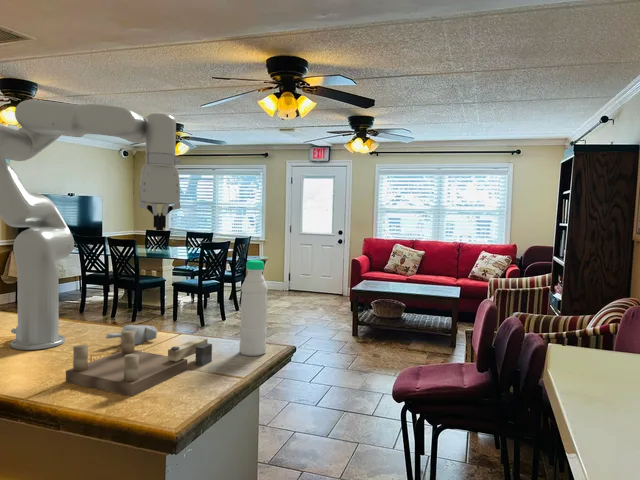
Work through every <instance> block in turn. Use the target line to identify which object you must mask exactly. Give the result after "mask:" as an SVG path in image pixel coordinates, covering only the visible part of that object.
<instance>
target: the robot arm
mask: <svg viewBox="0 0 640 480" xmlns="http://www.w3.org/2000/svg"><path fill="white" fill-rule="evenodd" d="M14 117H15V120H16V121H17V123H18V124H19V126H21V127H20V128H18V129H15V128H11V127H7V126H4V125H1V124H0V218H1V220H2V221H3V222H4V223H5V224H6V225H7V226H9V227H12V228H27V229H25V230H22V231H21V232H20V233H19V234H18V235H17V236H16V238H15V239H14V242H13V245H12V246H13V255H14V260H15V265H16V276H17V282H16V283H17V325H16V327H15V328H12V329H11V330H10V332H11V334H15V338H14V339H12V340H11V342H10V347H11V348H12V349H15V350H19V351H20V350H22V351H33V350H44V349H49V348H54V347H57V346H60V345H62V344H64V343H65V341H66V337H65V336H64V335H61V334H60V333H59V329H60V328H59V327H60V326H59V318H60V317H59V313H60V310H59V309H60V307H59V306H60V305H59V302H60V300H59V297H60V294H59V292H60V291H59V289H60V286H59V283H60V282H59V280H60V279H59V272H58V268H57V265H56V262H55V261H58V260H63V259H65V258H67V257H69V256H70V255H71V254H72V253H73V251H74V247H75V240H74V237H73V233H72V232H71V230H70V228H69V227H68V224H67V223H66V221H65V220H64V218H63V216H62V214H61V213H60V211H59V209H58V207H57V206H56V205H55V203H54V202H53V200H51V199H50V198H49V197H47V196H46V195H44V194H42V193H41V194H40V193H35V192H29V190H28V189H27V188H26V187H25V185H24V184H23V182H22V180H21V178H20V177H19V174H18V173H17V172H16V171H15V170H14V169H13V167H12V166H11V165H10V164H9V163H8V162H7V160H10V161H15V162H23V161H24V162H25V161H28V160H30V159H32V158H34V157H35V156H36V155H38V154H39V153H41V152H42V151H43V150H44V149H46V148H47V147H48V146H50V145H51V144H52V143H54V142H55V141H56V140H57V139H59V138H60V137H61V136H63V137H64V136H65V137H72V138H73V137H74V138H82V137H84V136H85V135H99V136H107V137H116V138H120V139H123V140H125V141H127V142H130V143H133V144H143V143H145V165H142V167H141V171H140V180H139V192H138V193H139V202H138V208H141V209H145V210H147V211H149V212H150V213H151V214H152V215H153V224H152V225H153V228H155V231H158V232H159V231H161V232H164V228H165V229H166V227H167V225H166V219H167V218H166V217H167V215H168V214H170V213H171V211H175V210H179V209H181V207H182V206H181V186H180V185H181V183H180V174H179V168H178V167H176V165H179V164H180V165H181V163H182V159H181V158H179V157H177V155H176V144H177V143H176V140H177V120H176V118H175V116H172V115H170V114H167V113H166V114H165V113H159V112H158V113H150V114H148V115H147V116H143V115H141V114H139V113H136V112H135V111H133V110H131V109H129V108H126V107H121V106H113V105H107V104H105V105H104V104H99V103H97V104H96V103H92V104H91V103H87V104H85V103H84V104H78V103H77V104H76V103H67V102H57V101H50V100H49V101H48V100H43V99H26V100H23V101H21V102H19V103H18V104H17V105H16V106H15V110H14ZM157 205H162V209H161V213H159V211H158V206H157Z"/></svg>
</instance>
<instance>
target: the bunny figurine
mask: <svg viewBox="0 0 640 480" xmlns="http://www.w3.org/2000/svg"><path fill="white" fill-rule="evenodd" d="M124 331H134V332H135V342H134V346H137V345H139V344H140V345H141V344H143V343H145V342H146V341H151V340H156V339H157V335H158V329H157V328H156V326H153V325H146V324H139V325H136V324H127V325H124V326H122V329H121V332H120V333H119V332H118V333H116V332H113V333H108V334H107V335H106V337H105V339H115V338H120V340H121V341H122V332H124Z"/></svg>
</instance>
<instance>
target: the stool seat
mask: <svg viewBox="0 0 640 480" xmlns="http://www.w3.org/2000/svg"><path fill="white" fill-rule="evenodd" d="M121 332H122V331H121ZM134 342H135V332H134V331H124V332H122V340H121V351H118V352H115V353H113V354H112V353H111V354H110V355H108V356H104V357H102V358H101V357H100V358H99V359H95V360H92V361H89V346H88V345H87V344H79V345H74V346H73V355H72V356H73V357H72V358H73V365H72V366H73V367H72V368H69V369H67V370H65V383H70V384H73V385H79V386H82V387H85V388H86V387H87V388H91V389H96V390H101V391H105V392H110V393H114V394H119V395H123V396H129V397H134V396H135V395H138V394H140V393H142V392H144V391H146V390H147V389H150V388H152V387H155V386H156V385H159V384H160V383H163V382H164V381H168V380H169V379H171V378H173V377H176V376H178V375H180V374H182V373H184V372H186V371H188V359H186V358H183V359H181V360H178V361H171V360H168V355H164V354H159V353H153V352H152V353H151V352H146V351H142V350H135V345H134ZM212 354H213V343H208V342H207V343H204V344H202V345H199V346H197V347H196V353H195V365H196V366H205V365H207V364H208V363H210V362H212V361H213V355H212Z"/></svg>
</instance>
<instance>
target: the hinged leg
mask: <svg viewBox="0 0 640 480" xmlns="http://www.w3.org/2000/svg"><path fill="white" fill-rule="evenodd" d="M204 343H208V338H202V337H198V338H195V339H194V340H190V341H187V342H185V343H182V344H179V345H177V346H172V347H171V348H169V349H168V350H167V356H168V360H171V361H178V360H181V359H186V358H187V357H190V356H193V355H196V347H197V346H199V345H202V344H204Z"/></svg>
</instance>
